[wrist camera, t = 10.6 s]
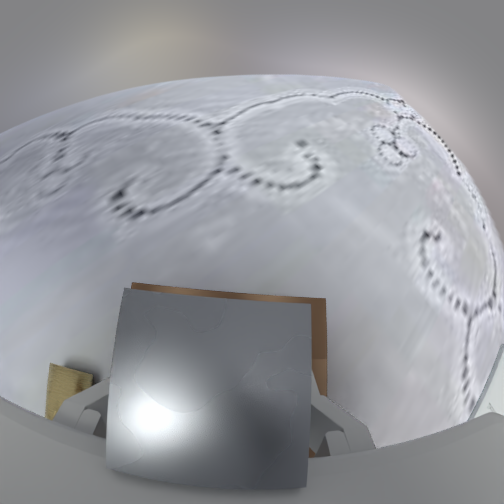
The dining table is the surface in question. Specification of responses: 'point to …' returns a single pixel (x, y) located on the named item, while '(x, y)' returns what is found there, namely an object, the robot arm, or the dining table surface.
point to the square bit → (211, 391)
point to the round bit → (64, 386)
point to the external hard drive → (492, 390)
